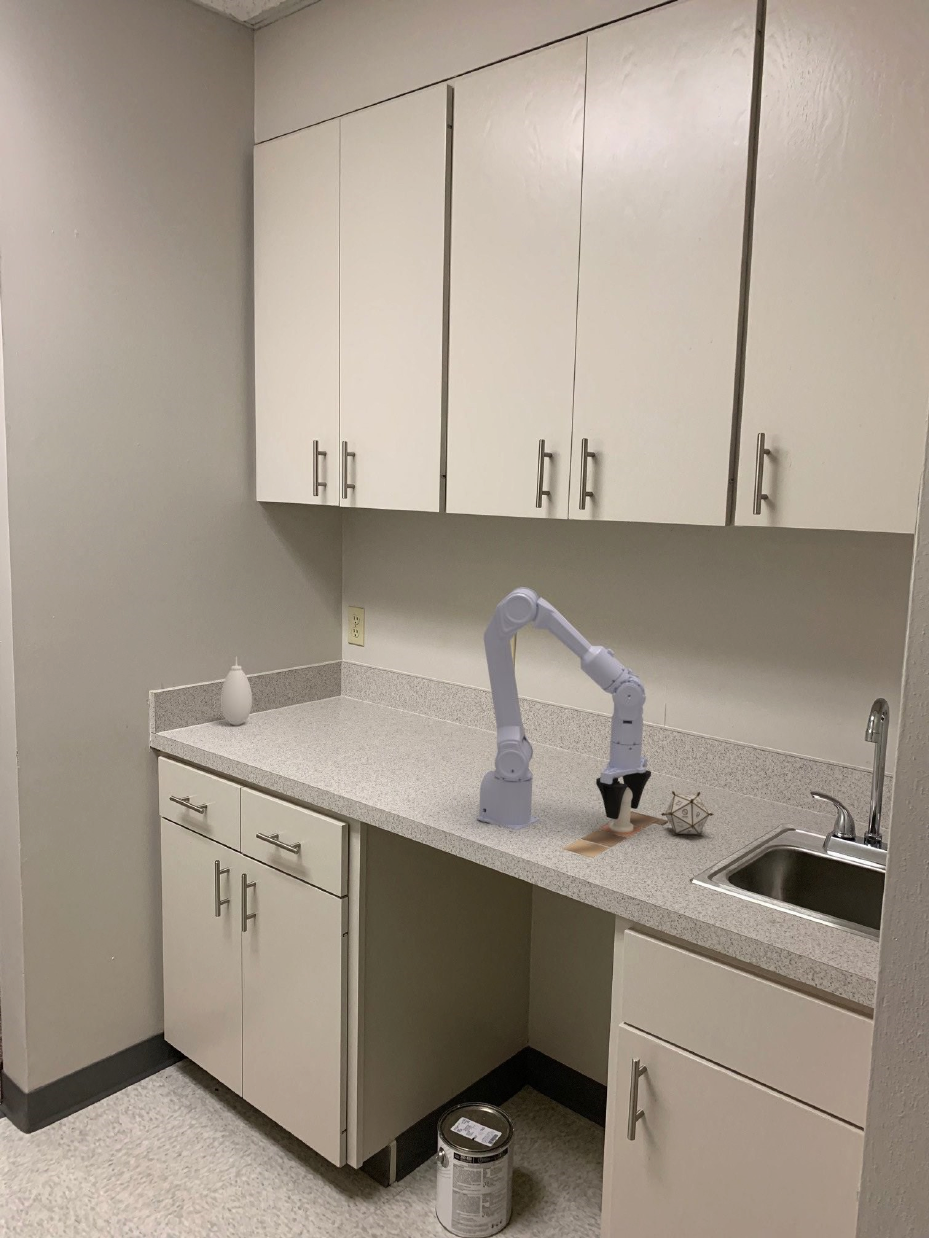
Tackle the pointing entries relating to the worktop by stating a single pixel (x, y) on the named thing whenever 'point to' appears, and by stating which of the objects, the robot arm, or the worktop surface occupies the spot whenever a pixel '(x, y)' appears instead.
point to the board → (610, 836)
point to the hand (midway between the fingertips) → (622, 812)
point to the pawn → (623, 815)
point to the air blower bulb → (236, 696)
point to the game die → (687, 814)
